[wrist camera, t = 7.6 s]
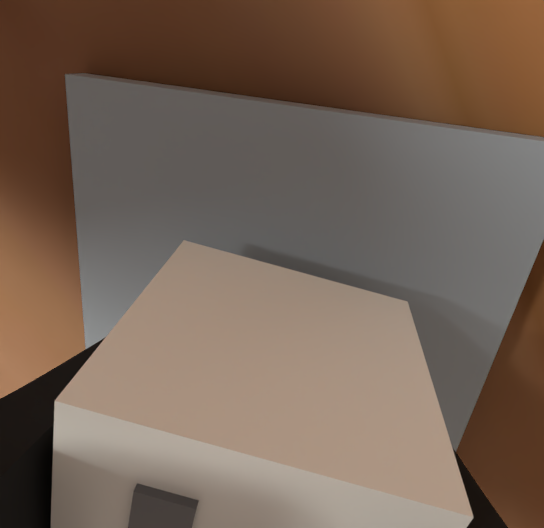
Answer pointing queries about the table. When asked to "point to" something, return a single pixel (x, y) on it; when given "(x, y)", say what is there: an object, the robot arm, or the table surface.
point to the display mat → (310, 208)
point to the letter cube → (254, 409)
